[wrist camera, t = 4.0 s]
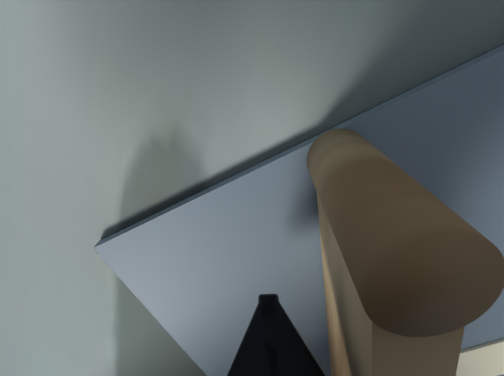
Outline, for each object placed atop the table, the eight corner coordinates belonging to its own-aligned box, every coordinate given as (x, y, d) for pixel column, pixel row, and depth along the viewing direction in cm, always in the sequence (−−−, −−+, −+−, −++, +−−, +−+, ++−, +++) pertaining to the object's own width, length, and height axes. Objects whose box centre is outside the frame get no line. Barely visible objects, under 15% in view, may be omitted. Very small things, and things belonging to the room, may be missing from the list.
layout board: (650, 442, 13) (664, 456, 13) (328, 504, 17) (330, 516, 16) (663, -34, 6) (694, -40, 6) (99, 240, 10) (91, 250, 9)
